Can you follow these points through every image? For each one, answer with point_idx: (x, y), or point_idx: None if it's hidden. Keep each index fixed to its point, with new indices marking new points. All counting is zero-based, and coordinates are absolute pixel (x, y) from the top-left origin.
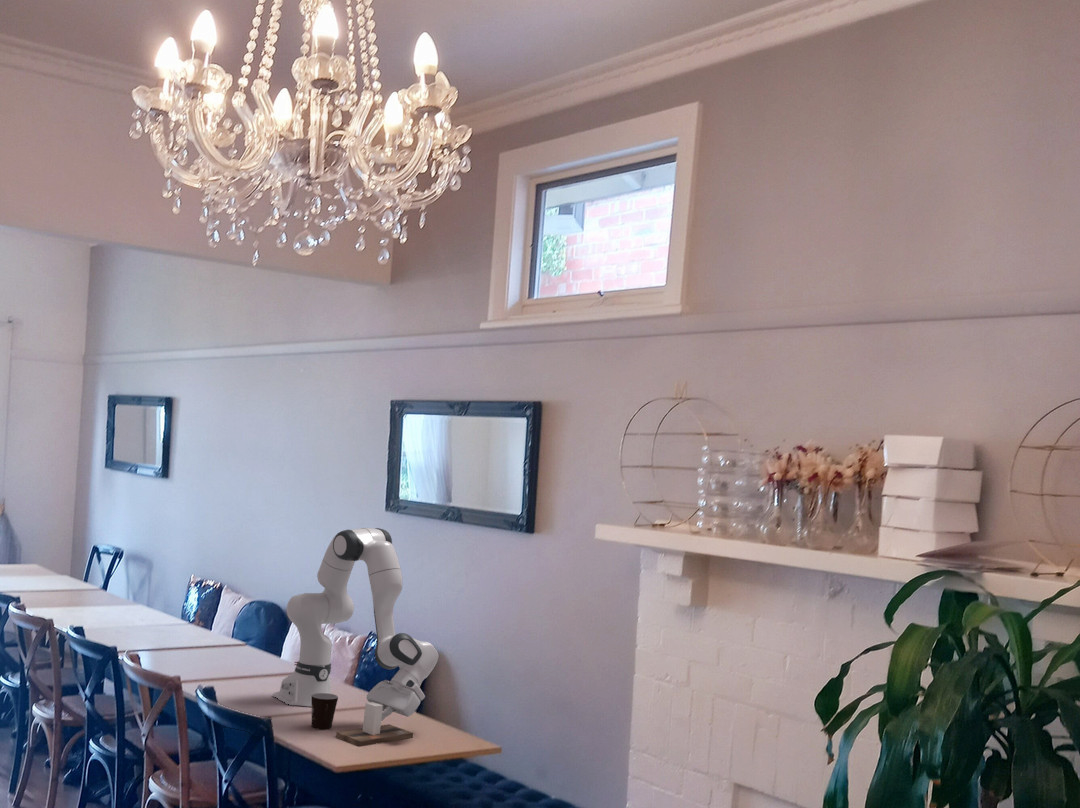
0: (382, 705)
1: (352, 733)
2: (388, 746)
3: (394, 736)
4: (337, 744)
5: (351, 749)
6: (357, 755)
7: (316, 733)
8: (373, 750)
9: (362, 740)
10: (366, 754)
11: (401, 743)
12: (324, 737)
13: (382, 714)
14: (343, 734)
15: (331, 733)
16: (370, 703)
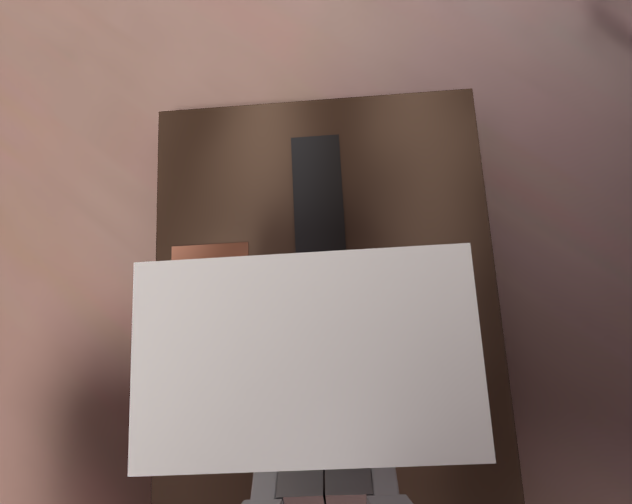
0: (128, 463)
1: (385, 186)
2: (65, 327)
3: (152, 499)
4: (287, 20)
5: (143, 40)
6: (18, 3)
7: (606, 34)
8: (46, 159)
9: (172, 141)
10: (3, 64)
11: (74, 492)
12: (483, 31)
13: (252, 491)
14: (386, 101)
15: (569, 134)
16: (378, 306)
